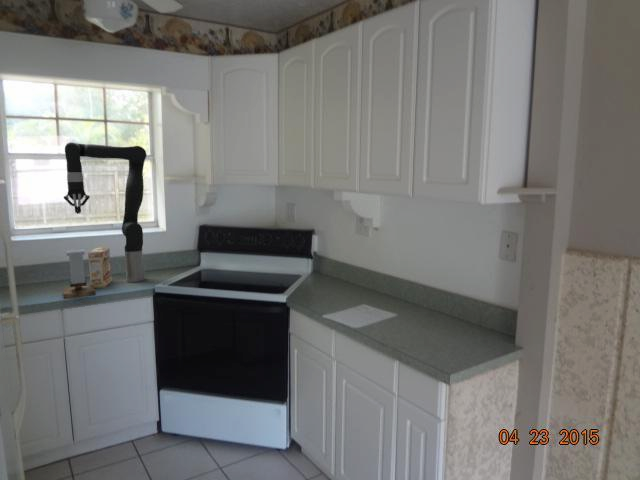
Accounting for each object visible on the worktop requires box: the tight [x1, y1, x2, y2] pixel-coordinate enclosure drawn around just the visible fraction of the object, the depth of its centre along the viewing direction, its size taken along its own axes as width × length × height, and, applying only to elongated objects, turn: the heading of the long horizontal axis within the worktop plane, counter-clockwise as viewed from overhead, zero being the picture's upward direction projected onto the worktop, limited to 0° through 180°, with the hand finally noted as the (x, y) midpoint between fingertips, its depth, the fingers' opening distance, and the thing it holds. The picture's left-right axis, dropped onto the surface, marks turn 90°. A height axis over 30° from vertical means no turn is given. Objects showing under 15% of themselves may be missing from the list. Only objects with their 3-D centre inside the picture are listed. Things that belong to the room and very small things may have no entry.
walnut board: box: [62, 284, 96, 299], centre depth 236 cm, size 14×14×2 cm
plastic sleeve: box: [65, 248, 86, 284], centre depth 234 cm, size 8×8×16 cm
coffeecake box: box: [87, 246, 113, 289], centre depth 252 cm, size 15×7×20 cm, turn 9°
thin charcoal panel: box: [69, 279, 87, 287], centre depth 235 cm, size 7×7×2 cm
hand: (78, 213), depth 247 cm, fingers closed
